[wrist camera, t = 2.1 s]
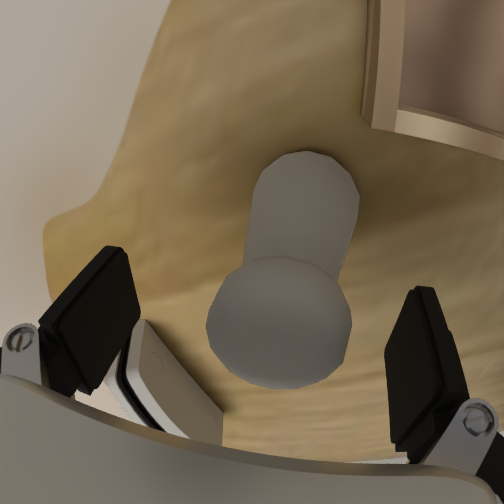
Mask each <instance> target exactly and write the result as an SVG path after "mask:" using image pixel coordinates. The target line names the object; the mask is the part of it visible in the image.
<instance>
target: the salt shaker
mask: <svg viewBox="0 0 504 504" xmlns="http://www.w3.org/2000/svg"><path fill="white" fill-rule="evenodd" d="M359 202H360V195H359V193H358V191H357V188H356V186H355V184H354V182H353V179H352V177H351V175H350V174H349V172H347V171H346V170H345V169H344V168H343V167H342V166H341V165H340V164H339V163H337V162H336V161H335V160H334V159H333V158H332V157H330V156H326V155H322V154H319V153H315V152H311V151H301V152H296V153H290V154H284V155H282V156H281V157H280V158H278V159H277V160H276V161H274V162H273V163H272V164H271V165H269V166H268V167H267V168H265V169H264V170H263V171H262V173H261V175H260V177H259V180H258V182H257V184H256V186H255V188H254V190H253V196H252V203H251V210H250V217H249V224H248V231H247V238H246V245H245V252H244V259H243V266H241V267H240V268H238V269H237V270H235V271H234V272H232V273H231V274H229V275H228V276H227V277H226V278H225V280H224V282H223V284H222V285H221V287H220V289H219V291H218V293H217V295H216V297H215V299H214V301H213V303H212V305H211V307H210V309H209V313H208V317H207V322H206V330H207V334H208V339H209V343H210V347H211V349H212V350H213V351H214V353H215V354H216V356H217V357H218V358H219V359H220V361H221V362H222V363H223V364H224V365H225V367H226V368H227V369H228V370H229V371H230V372H231V373H233V374H235V375H237V376H238V377H240V378H242V379H243V380H245V381H247V382H249V383H252V384H255V385H259V386H263V387H266V388H270V389H298V388H301V387H304V386H307V385H311V384H314V383H317V382H319V381H321V380H323V379H326V378H327V377H328V376H329V375H330V374H331V373H332V372H334V371H335V370H336V369H337V368H338V367H339V366H340V365H341V364H342V363H343V360H344V356H345V352H346V348H347V344H348V340H349V336H350V332H351V327H352V319H351V311H350V308H349V306H348V303H347V301H346V299H345V297H344V295H343V292H342V290H341V288H340V286H339V284H338V283H337V279H338V276H339V273H340V270H341V268H342V265H343V262H344V259H345V256H346V253H347V250H348V247H349V244H350V241H351V238H352V234H353V231H354V228H355V225H356V222H357V218H358V210H359Z"/></svg>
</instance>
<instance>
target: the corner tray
mask: <svg viewBox="0 0 504 504" xmlns="http://www.w3.org/2000/svg"><path fill="white" fill-rule="evenodd" d="M360 113H361V115H362V116H363V117H364V119H365V120H366V121H367V123H368V124H369V125H370V127H371V128H374V129H380V130H385V131H391V132H396V133H401V134H406V135H410V136H415V137H420V138H424V139H428V140H433V141H437V142H441V143H445V144H449V145H453V146H456V147H460V148H464V149H467V150H471V151H474V152H478V153H481V154H484V155H488V156H491V157H494V158H497V159H500V160H503V161H504V0H367V30H366V50H365V65H364V78H363V90H362V101H361V110H360Z"/></svg>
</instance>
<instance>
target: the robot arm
mask: <svg viewBox="0 0 504 504" xmlns="http://www.w3.org/2000/svg"><path fill="white" fill-rule="evenodd" d="M140 314H141V310H140V306H139V302H138V298H137V294H136V290H135V286H134V282H133V277H132V273H131V269H130V264H129V260H128V256H127V253H126V252H124V250H123V249H122V248H121V247H115V246H105V247H104V248H103V249H102V250H101V251H100V252H99V253H98V254H97V255H96V256H95V257H94V258H93V259H92V260H91V261H90V262H89V263H88V265H87V266H86V267H85V268H84V269H83V270H82V271H81V272H80V273H79V274H78V275H77V277H76V278H75V279H74V280H73V281H72V282H71V283H70V284H69V285H68V287H67V288H66V289H65V290H64V291H63V292H62V293H61V294H60V296H59V297H58V298H57V299H56V300H55V301H54V303H53V304H52V305H51V306H50V307H49V309H48V310H47V311H46V312H45V313H44V314H43V316H42V317H41V318H40V319H39V321H38V322H39V324H40V327H39V328H38V329H37V328H36V327H35V326H34V325H32V324H28V323H24V324H20V325H17V326H15V327H14V328H12V329H11V330H10V331H9V332H8V333H7V334H6V336H5V338H4V340H3V344H2V347H0V504H504V437H503V436H502V435H501V434H499V433H498V432H497V430H498V426H499V424H498V416H497V413H496V411H495V410H494V408H493V407H492V406H491V405H490V404H489V403H488V402H486V401H484V400H483V399H478V398H473V399H470V397H469V393H468V388H467V384H466V381H465V377H464V373H463V369H462V366H461V362H460V359H459V355H458V352H457V348H456V345H455V342H454V339H453V336H452V333H451V331H449V330H448V327H447V324H446V321H445V318H444V315H443V312H442V309H441V306H440V303H439V301H438V298H437V295H436V292H435V290H434V288H432V287H425V286H416V287H415V288H414V290H410V291H409V292H408V294H407V297H406V300H405V302H404V305H403V307H402V310H401V312H400V315H399V317H398V319H397V322H396V324H395V326H394V329H393V331H392V333H391V336H390V338H389V340H388V342H387V345H386V347H385V352H384V359H385V368H386V378H387V390H388V402H389V418H390V438H391V442H392V443H395V450H396V452H407V458H408V459H409V460H408V462H407V463H406V464H364V463H344V462H328V461H315V460H305V459H295V458H287V457H280V456H272V455H266V454H260V453H254V452H248V451H242V450H237V449H232V448H227V447H222V446H217V445H213V444H209V443H204V442H200V441H196V440H192V439H188V438H184V437H180V436H177V435H173V434H170V433H166V432H163V431H159V430H156V429H153V428H150V427H146V426H143V425H140V424H137V423H134V422H131V421H128V420H125V419H122V418H120V417H117V416H114V415H111V414H109V413H106V412H103V411H101V410H98V409H96V408H93V407H91V406H88V405H86V404H83V403H81V402H79V401H76V400H75V395H74V393H75V392H76V390H77V389H78V391H80V392H83V393H85V394H87V395H91V394H92V392H93V390H94V389H97V388H98V387H99V386H100V384H101V382H102V381H103V379H104V377H105V376H106V374H107V372H108V370H109V369H110V367H111V365H112V363H113V362H114V360H115V358H116V357H117V355H118V353H119V352H120V350H121V348H122V347H123V345H124V343H125V342H126V340H127V338H128V337H129V335H130V333H131V332H132V330H133V328H134V327H135V325H136V323H137V322H138V320H139V318H140Z"/></svg>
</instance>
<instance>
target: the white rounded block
mask: <svg viewBox="0 0 504 504" xmlns="http://www.w3.org/2000/svg"><path fill="white" fill-rule="evenodd" d="M107 384H108V387H109V389H110V391H111V392H112V394H113V396H114V397H115V399H116V400H117V402H118V403H119V405H120V406H121V408H122V409H123V410H124V412H125V413H126V414H127V416H128V417H129V418H130V419H131V420H132V421H133V422H134V423H137V424H140V425H143V426H146V427H150V428H153V429H156V430H159V431H163V432H166V433H170V434H173V435H177V436H180V437H184V438H188V439H192V440H196V441H200V442H204V443H209V444H213V445H217V446H222V436H223V412H222V411H221V410H220V409H219V408H218V407H217V405H216V404H215V403H214V402H213V401H212V400H211V399H210V398H209V397H208V395H207V394H206V393H205V392H204V391H203V390H202V389H201V388H200V386H199V385H198V384H197V383H196V382H195V381H194V379H193V378H192V377H191V376H190V375H189V374H188V372H187V371H186V370H185V369H184V368H183V366H182V365H181V364H180V363H179V362H178V360H177V359H176V358H175V357H174V356H173V354H172V353H171V352H170V351H169V349H168V348H167V347H166V346H165V344H164V343H163V342H162V340H161V339H160V338H159V337H158V335H157V334H156V333H155V331H154V330H153V329H152V328H151V326H150V325H149V324H148V322H147V321H146V320H145V319H139V320H138V322H137V323H136V325H135V327H134V328H133V330H132V332H131V333H130V335H129V337H128V338H127V340H126V342H125V343H124V345H123V347H122V348H121V350H120V352H119V353H118V355H117V357H116V358H115V360H114V362H113V363H112V365H111V367H110V369H109V370H108V375H107Z"/></svg>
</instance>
